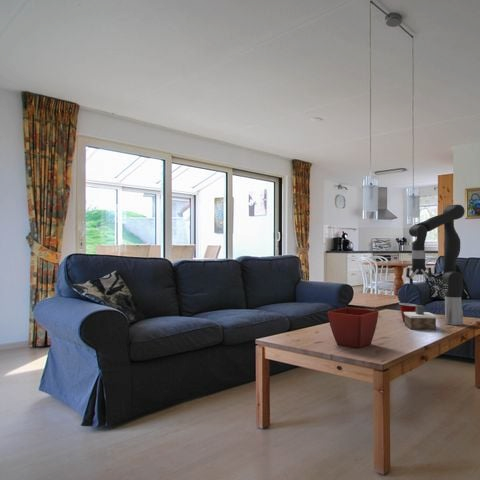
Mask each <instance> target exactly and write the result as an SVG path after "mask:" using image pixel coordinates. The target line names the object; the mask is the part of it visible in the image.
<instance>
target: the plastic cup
mask: <svg viewBox="0 0 480 480" xmlns="http://www.w3.org/2000/svg"><path fill="white" fill-rule="evenodd" d="M398 304H399V308H400V312H401V318H402V322H403V323H405V314H404V312H416V305H417V304H415V303H414V304H413V303H407V302H398Z"/></svg>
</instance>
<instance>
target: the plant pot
mask: <svg viewBox="0 0 480 480" xmlns="http://www.w3.org/2000/svg"><path fill="white" fill-rule="evenodd" d="M327 317H328V322H329V325H330V329H331V332H332V336H333V338H334V341H335V343H336V344H337V345H340V346H344V347H345V346H346V347H350V348H357V349H359V348H363V347H366V346H368V345H371V344H372V341H373V340H374V339H373V338H374V335H375V333H376V328H377V326H378V325H377V324H378V319H379V310H375V309H365V308H355V307H343V308H338V309H333V310H329V311H327Z"/></svg>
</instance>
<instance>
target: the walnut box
mask: <svg viewBox="0 0 480 480" xmlns="http://www.w3.org/2000/svg"><path fill="white" fill-rule="evenodd" d="M404 326H405V327H407V328H408V329H410V330H414V331H418V330H419V331H436V330H437V318H410V317H408V316H406V315H405V322H404Z"/></svg>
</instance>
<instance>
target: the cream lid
mask: <svg viewBox="0 0 480 480" xmlns="http://www.w3.org/2000/svg"><path fill="white" fill-rule="evenodd" d="M415 305H416V308H415V312H404V314H405V315H406V316H408V317H410V318H436V319H438V315H435V314H434V313H432V312H429V311H427V312H426V311H425V310H424V308H425V307H424V305H418V304H415Z"/></svg>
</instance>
